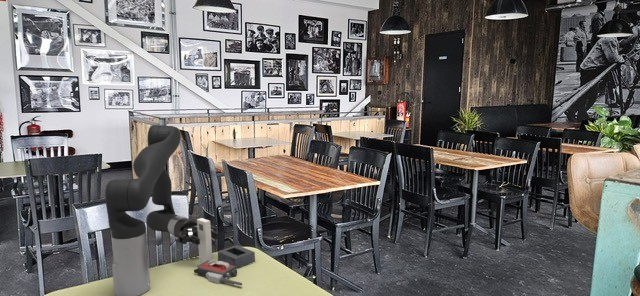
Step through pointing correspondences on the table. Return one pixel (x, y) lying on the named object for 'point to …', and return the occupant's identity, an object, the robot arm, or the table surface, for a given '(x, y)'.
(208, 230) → the white tall block
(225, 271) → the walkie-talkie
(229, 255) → the holder
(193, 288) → the table surface
